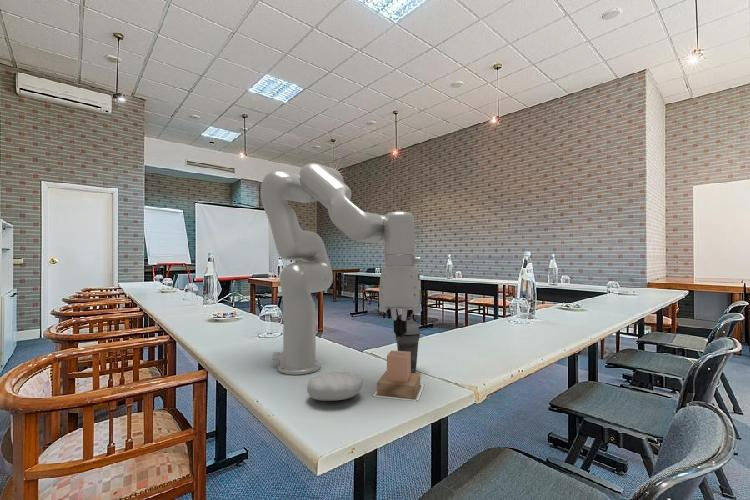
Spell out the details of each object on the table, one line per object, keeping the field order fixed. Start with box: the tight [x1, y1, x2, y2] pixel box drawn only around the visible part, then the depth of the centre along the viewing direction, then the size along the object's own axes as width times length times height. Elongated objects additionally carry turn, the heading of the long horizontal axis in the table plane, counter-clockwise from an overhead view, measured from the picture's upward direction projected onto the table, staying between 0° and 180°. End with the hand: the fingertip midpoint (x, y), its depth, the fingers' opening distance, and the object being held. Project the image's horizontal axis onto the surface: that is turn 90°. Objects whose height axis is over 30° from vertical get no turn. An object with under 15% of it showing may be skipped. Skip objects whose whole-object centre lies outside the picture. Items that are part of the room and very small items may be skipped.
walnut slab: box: [376, 370, 421, 399], centre depth 88 cm, size 9×9×3 cm
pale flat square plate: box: [371, 383, 425, 403], centre depth 88 cm, size 11×11×1 cm
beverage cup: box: [394, 318, 421, 373], centre depth 102 cm, size 7×7×20 cm
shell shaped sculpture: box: [306, 371, 363, 402], centre depth 83 cm, size 13×13×6 cm
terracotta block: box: [386, 349, 411, 382], centre depth 88 cm, size 5×5×6 cm
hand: (400, 335), depth 88 cm, fingers closed
